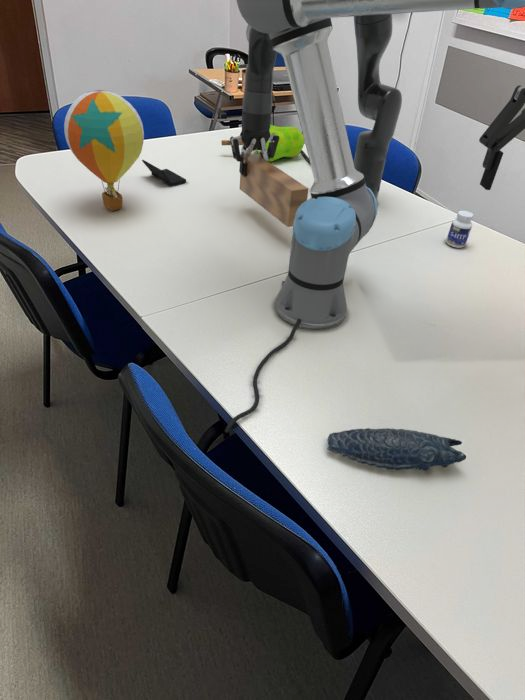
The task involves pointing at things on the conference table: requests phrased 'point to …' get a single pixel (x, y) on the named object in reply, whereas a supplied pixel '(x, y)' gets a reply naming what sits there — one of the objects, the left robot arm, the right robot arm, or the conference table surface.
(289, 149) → the decorative tree
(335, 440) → the fish model
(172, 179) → the black angled flat piece
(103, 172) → the toy
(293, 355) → the conference table surface
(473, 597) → the conference table surface
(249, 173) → the bar
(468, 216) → the pill bottle
